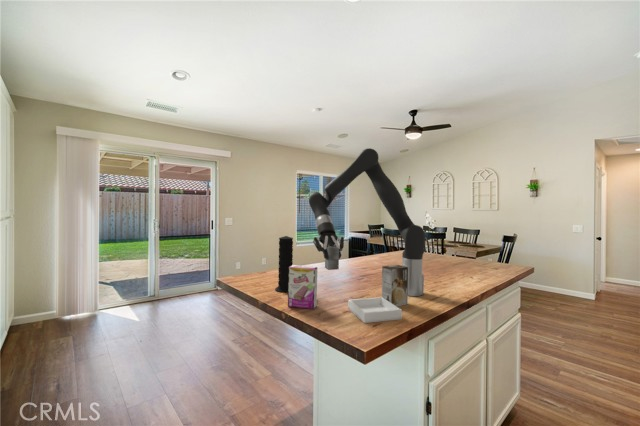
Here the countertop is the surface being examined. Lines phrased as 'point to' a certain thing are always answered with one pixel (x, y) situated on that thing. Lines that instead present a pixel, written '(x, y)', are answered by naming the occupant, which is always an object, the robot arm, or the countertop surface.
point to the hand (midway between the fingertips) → (333, 258)
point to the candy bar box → (302, 287)
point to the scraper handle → (332, 258)
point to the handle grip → (284, 263)
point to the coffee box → (395, 284)
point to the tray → (374, 310)
